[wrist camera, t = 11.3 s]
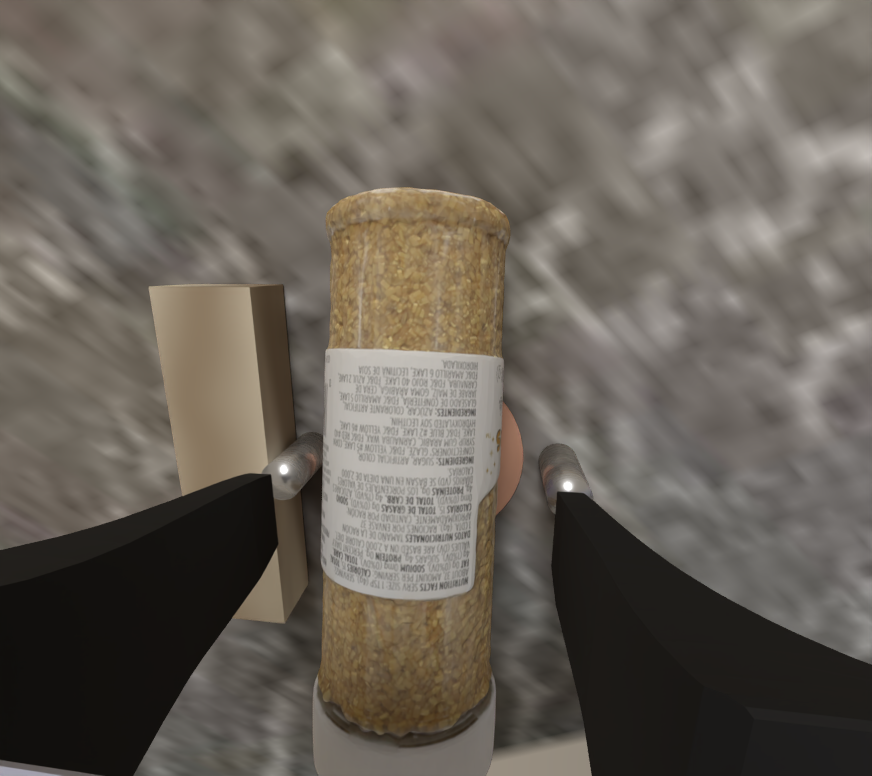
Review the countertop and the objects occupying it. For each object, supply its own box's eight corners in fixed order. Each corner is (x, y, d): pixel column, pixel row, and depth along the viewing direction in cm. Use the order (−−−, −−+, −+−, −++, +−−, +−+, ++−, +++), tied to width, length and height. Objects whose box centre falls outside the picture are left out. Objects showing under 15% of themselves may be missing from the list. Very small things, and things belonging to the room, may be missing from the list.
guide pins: (578, 444, 14) (595, 480, 12) (565, 587, 16) (578, 644, 13) (295, 431, 15) (258, 461, 13) (306, 565, 17) (275, 614, 14)
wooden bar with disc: (532, 285, 13) (538, 288, 11) (515, 602, 16) (517, 647, 14) (194, 284, 15) (148, 286, 13) (233, 576, 17) (201, 615, 15)
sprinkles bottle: (479, 247, 14) (465, 677, 14) (324, 233, 13) (316, 695, 13) (547, 190, 9) (522, 819, 10) (317, 162, 8) (305, 861, 9)
